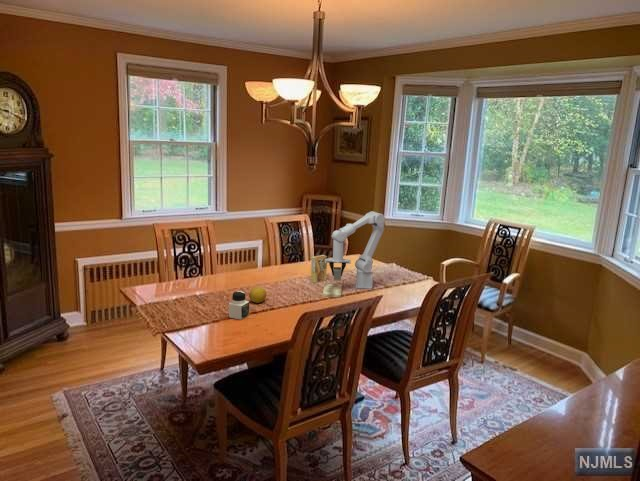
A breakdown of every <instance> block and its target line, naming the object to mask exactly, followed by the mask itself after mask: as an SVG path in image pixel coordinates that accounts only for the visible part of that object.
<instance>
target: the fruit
mask: <svg viewBox="0 0 640 481" xmlns="http://www.w3.org/2000/svg"><path fill="white" fill-rule="evenodd" d="M248 294H249V295H248V298H249V299H250V301H251V302H253V303H256V304H260V303H262V302H264V301H265V299H266V298H267V291H266V289H265V288H263V287H262V286H254V287H253V288H252V289H250V291H249V293H248Z"/></svg>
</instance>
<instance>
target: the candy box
mask: <svg viewBox="0 0 640 481" xmlns="http://www.w3.org/2000/svg"><path fill="white" fill-rule="evenodd" d="M325 259H328V256H327V255H324V254H320V255H316V256H314V255H313V256H311V264H310V265H311V268H310V269H311V271H310V281H311V282H312V283H315V284H316V282H317V283H320V282H325V281H327V267H328V263H325Z"/></svg>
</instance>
